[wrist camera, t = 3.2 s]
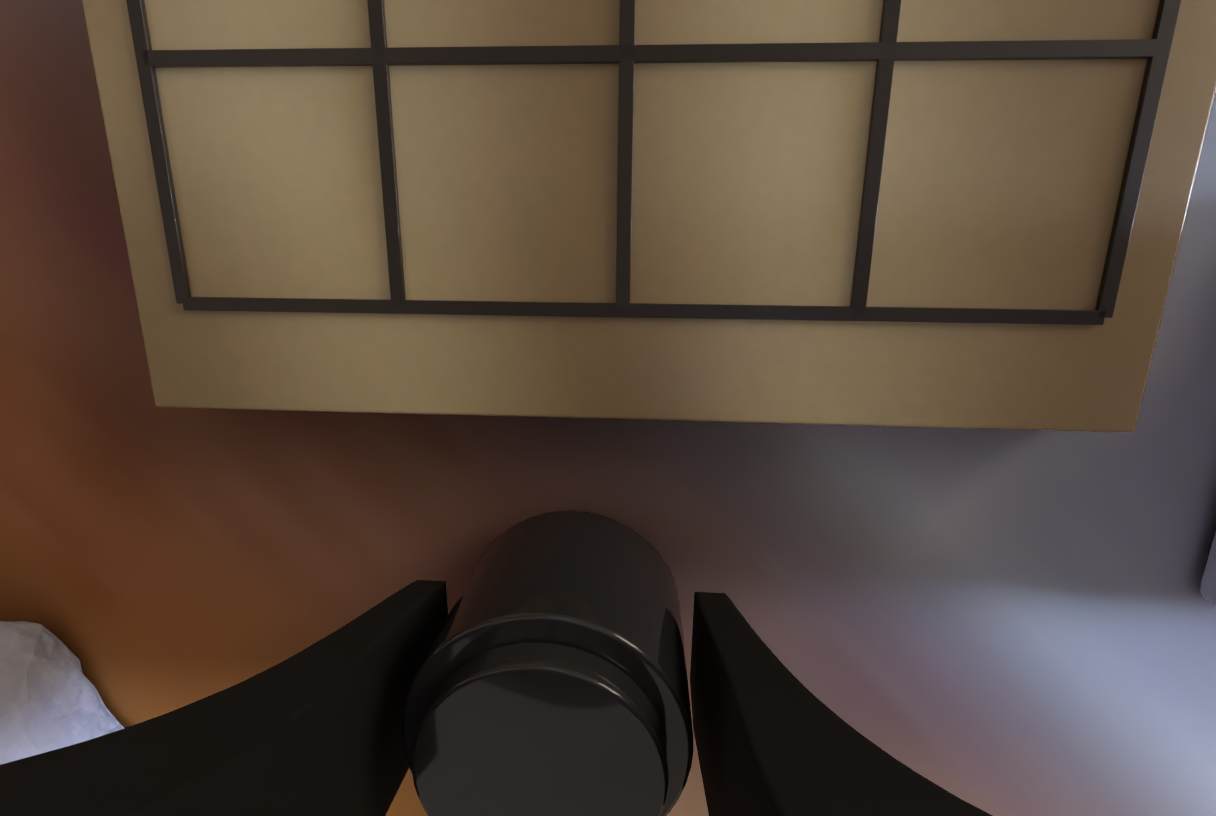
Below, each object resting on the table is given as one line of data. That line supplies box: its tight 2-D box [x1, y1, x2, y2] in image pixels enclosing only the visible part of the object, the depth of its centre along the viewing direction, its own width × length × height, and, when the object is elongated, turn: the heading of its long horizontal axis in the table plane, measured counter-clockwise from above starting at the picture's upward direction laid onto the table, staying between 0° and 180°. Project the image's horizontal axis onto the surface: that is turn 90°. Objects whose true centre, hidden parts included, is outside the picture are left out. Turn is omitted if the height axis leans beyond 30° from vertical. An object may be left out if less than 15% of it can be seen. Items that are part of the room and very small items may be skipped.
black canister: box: [402, 511, 693, 816], centre depth 11 cm, size 5×5×5 cm
